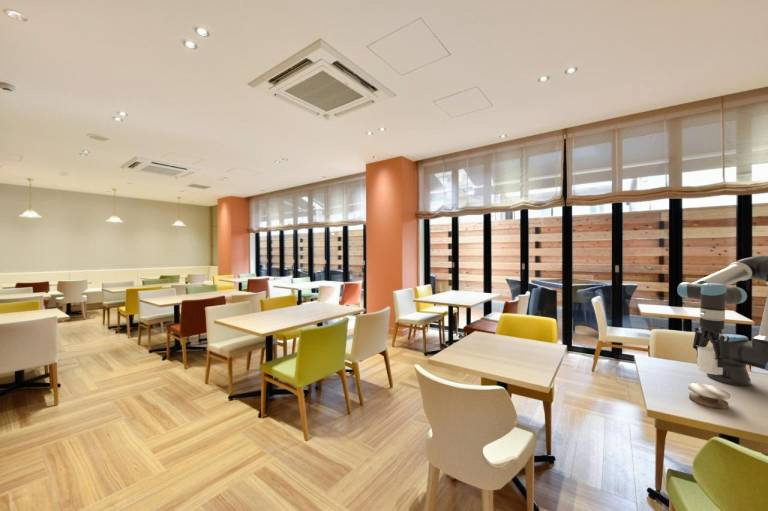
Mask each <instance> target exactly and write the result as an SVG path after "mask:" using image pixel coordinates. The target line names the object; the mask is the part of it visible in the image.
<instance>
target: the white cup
mask: <svg viewBox="0 0 768 511" xmlns="http://www.w3.org/2000/svg"><path fill="white" fill-rule="evenodd" d="M715 358H716V355H715V351H714V348H713V346H706V347H700V346H699V347H698V366H697V367H698V370H699V371H700V372H703V373H705V374H707V373H709V374H714V359H715ZM715 375H719V374H715Z"/></svg>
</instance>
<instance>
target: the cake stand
mask: <svg viewBox="0 0 768 511" xmlns="http://www.w3.org/2000/svg"><path fill="white" fill-rule="evenodd" d="M687 388H688V390H689V391H691V392H689V395H688V397H689V398H688V399H689V400H690V401H692V402H693V403H696V404H698V405H701V406H704V407H706V408H711V409H715V410H728V408H729V402H728V401H727V400H730V399H731V393H729V392H728V391H727V390H725V389H723V388H719V387H717V386H715V385H710V384H705V383H699V382H695V383H694V382H692V383H688V384H687Z"/></svg>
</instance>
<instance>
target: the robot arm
mask: <svg viewBox="0 0 768 511" xmlns="http://www.w3.org/2000/svg"><path fill="white" fill-rule="evenodd" d="M751 279H752V280H764V282H765V283H764V284H766V285H767V286H768V255H757V256H750V257H746V258H742V259H738V260H736V261H733V262H732V263H729V264H728V265H727V266H726V268H723V269H721V270H718V271H717V272H714V273H711V274H710V275H707V276H705V277H702V278H700V279H699V280H696V281H693V282H681V283H679V284H678V286H677V291H676V292H677V294H678V296H680V297H681V298H686V299H692V300H698V301H699V300H700V306H699V308H700V310H699V317H700V318H699V327H695V328H694V331H695V332H694V338H693V343H692V349H694V350H695V351H696V358H697V360H696V366H697V367H698V347H699V346H700V347H708V345H709V342H710V343H711V344H712V348H714V351H715V355H716V358H715V359H714V374H709V373H706V376H707V377H708V378H710V379H712V380H714V381H717V382H721V383H722V384H723V383H724V384H728V385H732V386H738V387H740V386H741V387H748V386H750V385H751V382H752V380H751V377H750V375H749V372H748V370H747V366H750V367H755V368H757V369H760V370H765V371H767V372H768V293H767V296H766V300H765V303H764V310H763V314H762V318H761V322H760V327H759V330H758V331H759V332H758V335H755V336H753V337H752V340H749V337H748V336H745V335H742V334H734V333H733V334H732V333H723V332H722V331H723V330H724V329H725V321H724V320H725V319H726V306H727V305H738V304H742V303H744V302H746V300H747V298H748V294H747V292H746V291H745V289H743V288H741V287H738V286H731V285H732V284H736V283H737V282H740V281H748V280H751ZM715 374H719V375H715Z"/></svg>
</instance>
